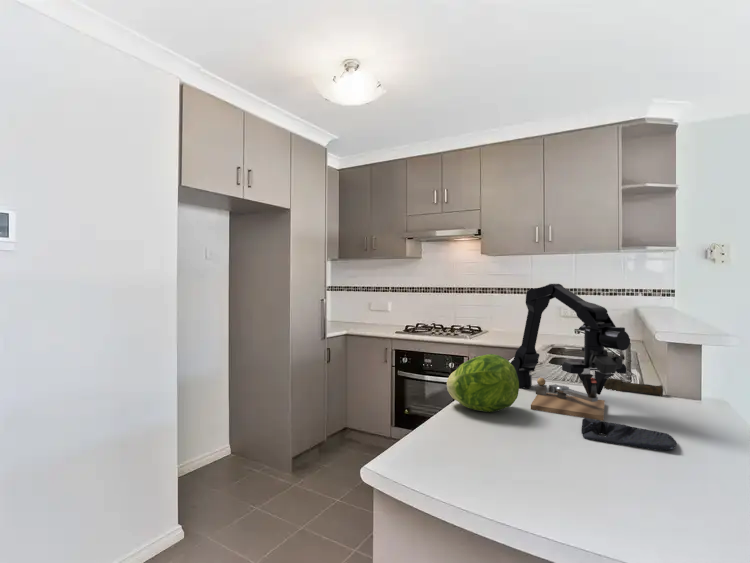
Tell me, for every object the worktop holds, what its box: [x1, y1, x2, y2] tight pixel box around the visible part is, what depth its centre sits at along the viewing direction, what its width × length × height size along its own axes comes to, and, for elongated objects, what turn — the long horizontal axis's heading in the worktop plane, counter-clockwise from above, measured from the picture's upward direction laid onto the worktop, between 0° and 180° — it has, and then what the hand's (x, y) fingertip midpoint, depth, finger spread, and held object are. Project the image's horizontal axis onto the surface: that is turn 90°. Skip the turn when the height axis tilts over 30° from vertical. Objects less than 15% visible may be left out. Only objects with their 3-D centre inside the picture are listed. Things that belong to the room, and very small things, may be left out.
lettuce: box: [446, 353, 520, 413], centre depth 137 cm, size 19×23×18 cm
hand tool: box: [603, 377, 664, 398], centre depth 159 cm, size 19×4×5 cm, turn 58°
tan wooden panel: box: [530, 377, 606, 422], centre depth 140 cm, size 22×18×7 cm
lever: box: [548, 377, 599, 402], centre depth 141 cm, size 18×4×8 cm, turn 24°
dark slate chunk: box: [581, 418, 677, 451], centre depth 114 cm, size 15×22×5 cm
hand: (593, 394), depth 134 cm, fingers open, 3 cm apart
